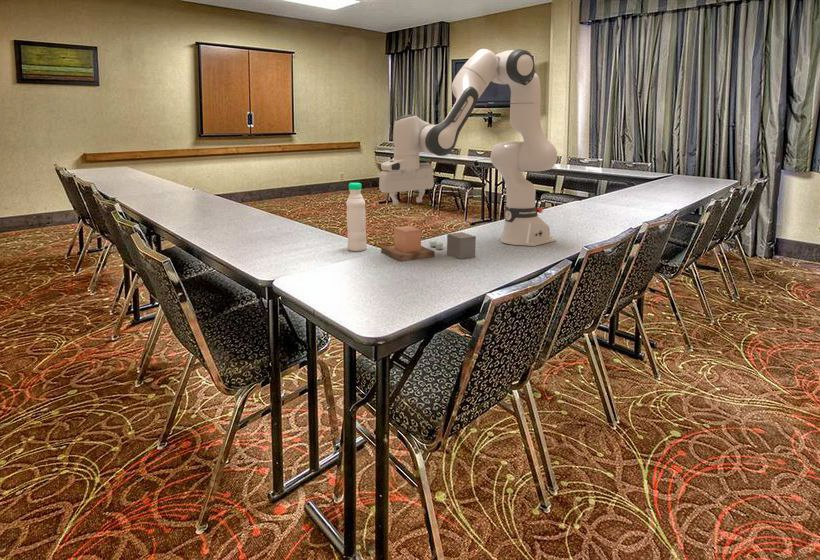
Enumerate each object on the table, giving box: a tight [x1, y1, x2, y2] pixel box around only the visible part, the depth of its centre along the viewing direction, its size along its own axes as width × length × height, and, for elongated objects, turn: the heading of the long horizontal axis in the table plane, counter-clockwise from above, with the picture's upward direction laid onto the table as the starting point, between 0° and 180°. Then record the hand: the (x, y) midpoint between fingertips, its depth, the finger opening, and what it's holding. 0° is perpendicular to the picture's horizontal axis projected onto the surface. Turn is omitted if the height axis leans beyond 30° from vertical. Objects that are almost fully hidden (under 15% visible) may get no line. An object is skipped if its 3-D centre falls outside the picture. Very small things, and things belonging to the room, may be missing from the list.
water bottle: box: [345, 182, 368, 252], centre depth 193 cm, size 7×7×25 cm
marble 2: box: [435, 240, 444, 250], centre depth 196 cm, size 3×3×3 cm
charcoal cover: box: [446, 231, 477, 260], centre depth 186 cm, size 6×9×8 cm
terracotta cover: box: [393, 225, 422, 252], centre depth 187 cm, size 6×9×8 cm
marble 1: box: [429, 239, 438, 248], centre depth 200 cm, size 3×3×3 cm
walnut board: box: [380, 245, 436, 262], centre depth 188 cm, size 14×15×2 cm
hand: (407, 203), depth 184 cm, fingers open, 8 cm apart
